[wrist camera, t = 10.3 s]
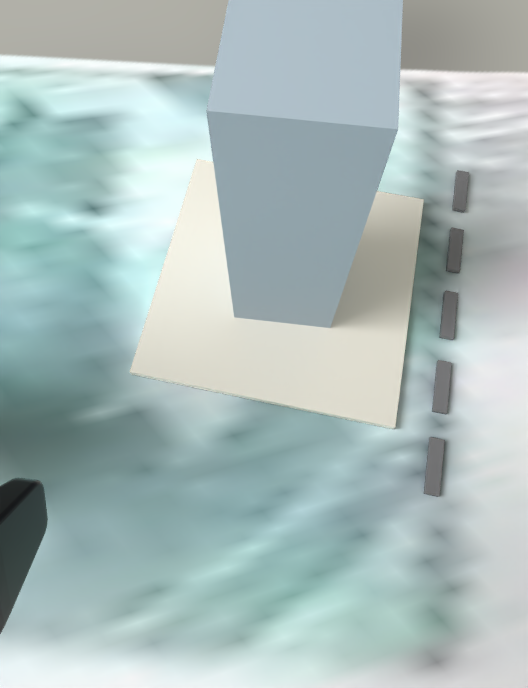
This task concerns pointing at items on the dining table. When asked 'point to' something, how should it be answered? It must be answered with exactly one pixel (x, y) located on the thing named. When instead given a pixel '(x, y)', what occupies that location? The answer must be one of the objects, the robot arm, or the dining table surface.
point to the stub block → (301, 146)
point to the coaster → (283, 338)
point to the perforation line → (447, 333)
